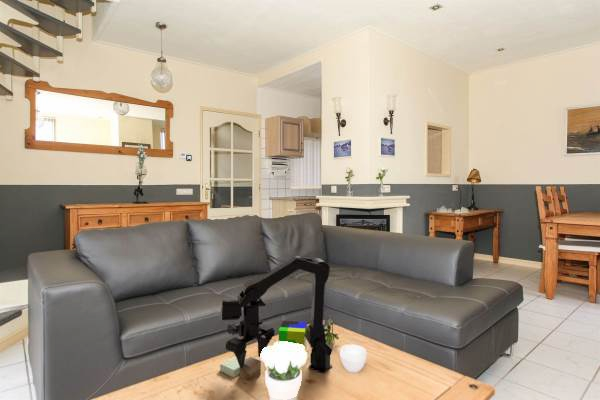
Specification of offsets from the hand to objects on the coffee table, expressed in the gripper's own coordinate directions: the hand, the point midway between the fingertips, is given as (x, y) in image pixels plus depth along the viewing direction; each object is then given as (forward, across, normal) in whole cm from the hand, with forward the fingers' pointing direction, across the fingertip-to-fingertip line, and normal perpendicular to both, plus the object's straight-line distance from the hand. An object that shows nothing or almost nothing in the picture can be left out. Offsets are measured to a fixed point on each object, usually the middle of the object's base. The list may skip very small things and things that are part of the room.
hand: (250, 362), depth 127 cm
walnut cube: (+5, 0, 0) cm, 5 cm away
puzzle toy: (+5, -24, 0) cm, 24 cm away
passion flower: (+5, -39, +6) cm, 40 cm away
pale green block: (+5, +1, -7) cm, 9 cm away
